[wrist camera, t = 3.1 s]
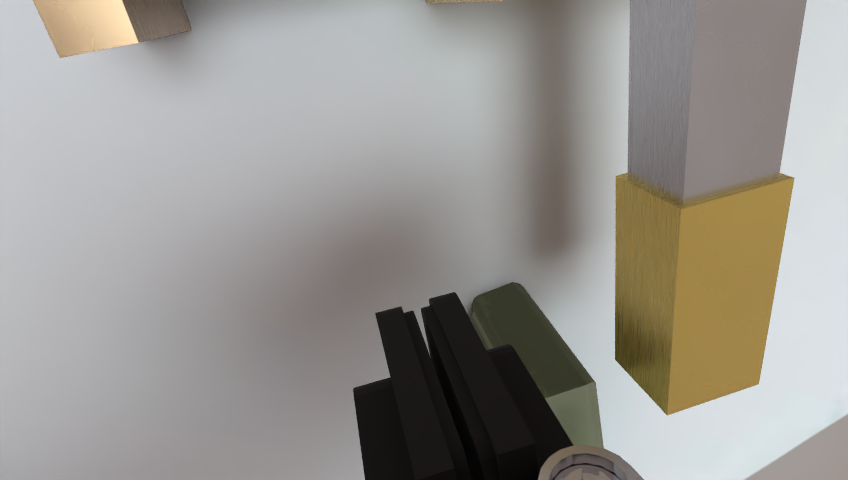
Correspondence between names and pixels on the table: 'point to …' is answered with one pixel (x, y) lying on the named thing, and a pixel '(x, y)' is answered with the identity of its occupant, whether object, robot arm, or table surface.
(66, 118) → the table surface
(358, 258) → the table surface
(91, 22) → the valve body
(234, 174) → the table surface
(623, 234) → the lever
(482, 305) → the handheld radio
